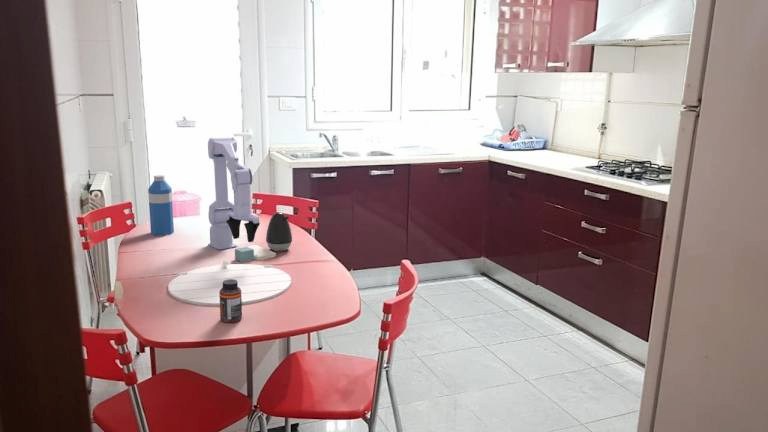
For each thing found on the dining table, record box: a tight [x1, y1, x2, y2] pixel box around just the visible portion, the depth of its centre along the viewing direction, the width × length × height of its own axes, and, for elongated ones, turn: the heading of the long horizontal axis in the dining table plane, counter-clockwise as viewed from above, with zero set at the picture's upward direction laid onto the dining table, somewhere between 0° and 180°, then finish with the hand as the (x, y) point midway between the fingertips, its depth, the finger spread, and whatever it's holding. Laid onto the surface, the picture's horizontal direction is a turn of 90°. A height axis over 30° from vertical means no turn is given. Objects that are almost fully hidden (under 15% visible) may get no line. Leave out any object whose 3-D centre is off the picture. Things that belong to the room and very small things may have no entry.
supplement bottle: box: [219, 279, 243, 324], centre depth 168 cm, size 6×6×11 cm
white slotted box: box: [240, 244, 277, 261], centre depth 232 cm, size 15×8×2 cm, turn 43°
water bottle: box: [147, 174, 175, 237], centre depth 257 cm, size 9×9×25 cm
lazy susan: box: [167, 260, 292, 307], centre depth 198 cm, size 40×39×3 cm
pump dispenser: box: [265, 211, 293, 252], centre depth 237 cm, size 10×10×15 cm
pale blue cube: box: [234, 246, 255, 263], centre depth 224 cm, size 5×5×4 cm
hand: (243, 240), depth 216 cm, fingers open, 7 cm apart
